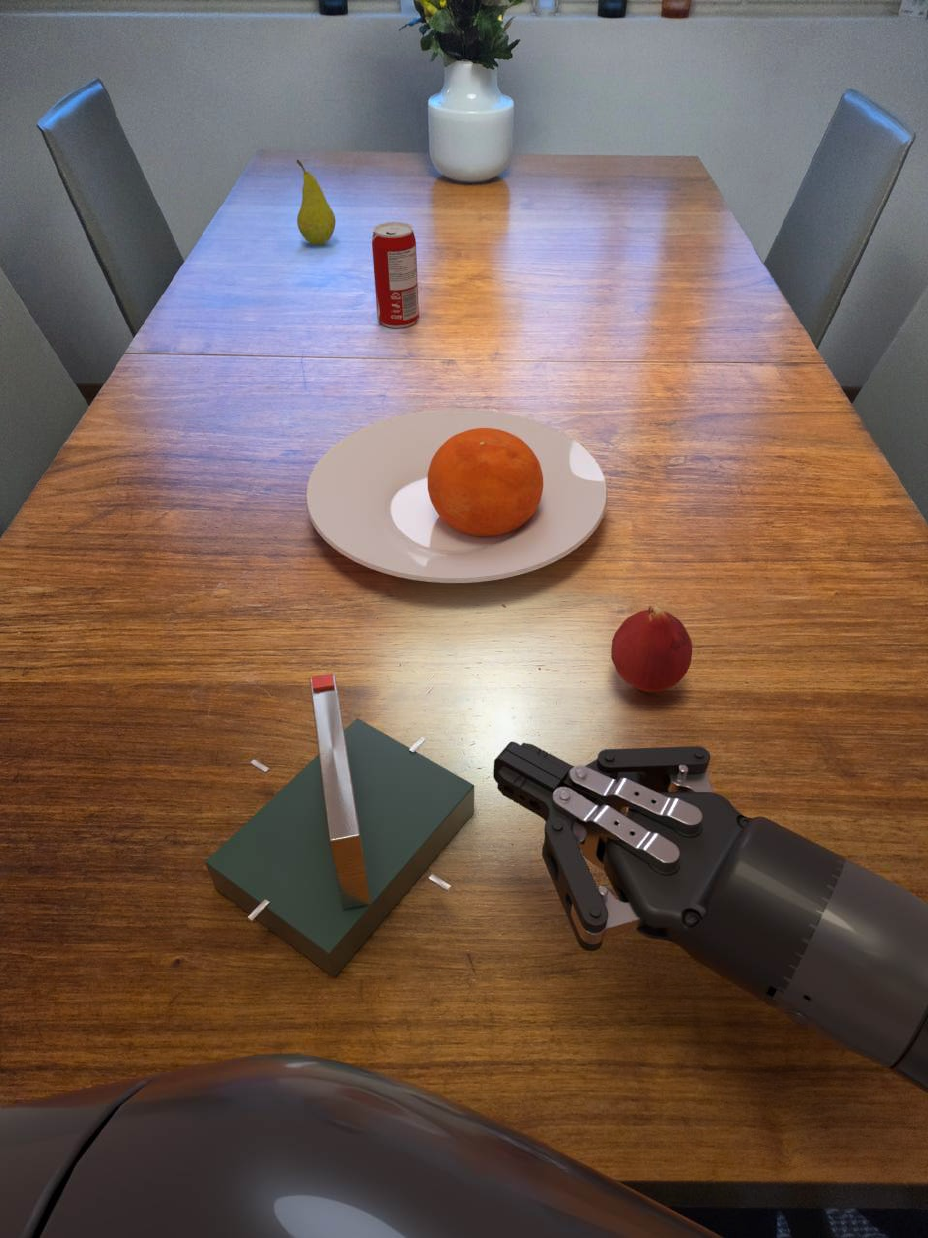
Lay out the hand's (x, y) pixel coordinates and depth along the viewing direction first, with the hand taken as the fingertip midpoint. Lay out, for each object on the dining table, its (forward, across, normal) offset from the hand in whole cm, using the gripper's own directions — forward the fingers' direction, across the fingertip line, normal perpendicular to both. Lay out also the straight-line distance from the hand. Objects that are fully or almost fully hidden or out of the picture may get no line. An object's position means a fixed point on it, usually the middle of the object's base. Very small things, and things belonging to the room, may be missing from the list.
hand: (501, 760), depth 47 cm
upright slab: (+9, +4, +9) cm, 13 cm away
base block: (+9, +4, +12) cm, 15 cm away
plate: (+25, -30, +12) cm, 41 cm away
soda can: (+57, -61, +12) cm, 84 cm away
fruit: (+85, -76, +12) cm, 115 cm away
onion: (0, -20, +12) cm, 23 cm away
